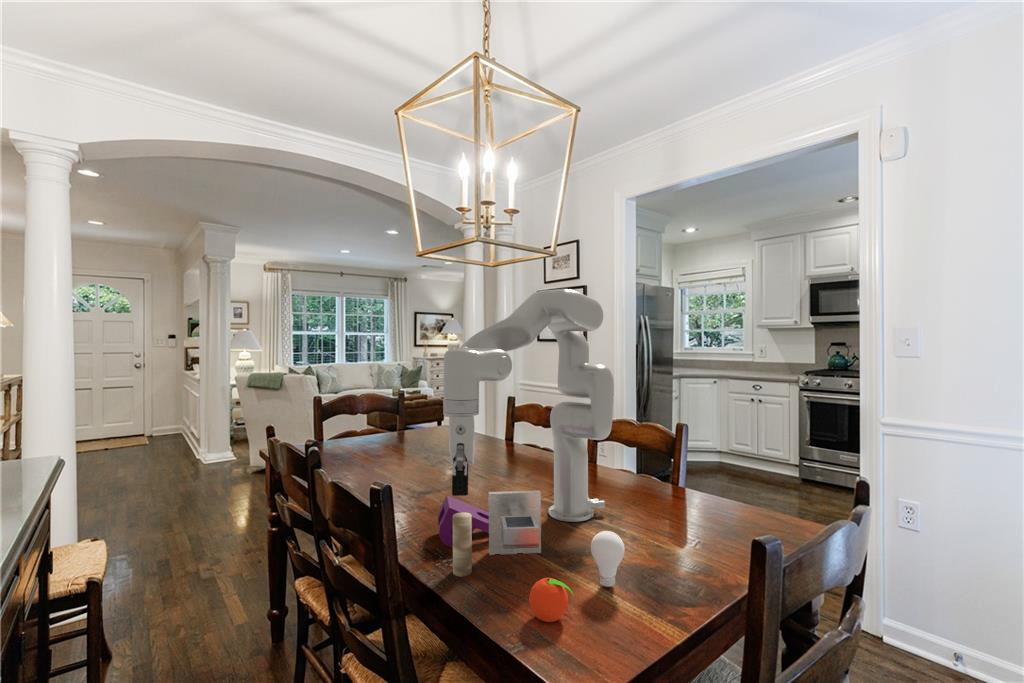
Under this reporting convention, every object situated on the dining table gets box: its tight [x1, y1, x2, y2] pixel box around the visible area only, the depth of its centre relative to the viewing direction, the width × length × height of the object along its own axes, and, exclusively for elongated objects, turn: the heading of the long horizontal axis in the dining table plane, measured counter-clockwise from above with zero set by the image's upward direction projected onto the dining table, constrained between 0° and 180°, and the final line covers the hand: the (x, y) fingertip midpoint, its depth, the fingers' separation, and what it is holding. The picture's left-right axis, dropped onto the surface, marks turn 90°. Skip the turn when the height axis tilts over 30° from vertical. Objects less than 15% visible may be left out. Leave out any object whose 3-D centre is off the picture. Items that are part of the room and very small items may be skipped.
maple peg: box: [452, 512, 473, 578], centre depth 103 cm, size 4×4×12 cm
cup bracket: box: [488, 489, 542, 556], centre depth 106 cm, size 12×15×14 cm
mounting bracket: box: [437, 495, 489, 548], centre depth 121 cm, size 9×8×18 cm
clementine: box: [528, 577, 575, 623], centre depth 86 cm, size 8×7×7 cm
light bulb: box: [590, 530, 626, 589], centre depth 97 cm, size 7×7×11 cm
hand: (460, 488), depth 103 cm, fingers open, 9 cm apart
